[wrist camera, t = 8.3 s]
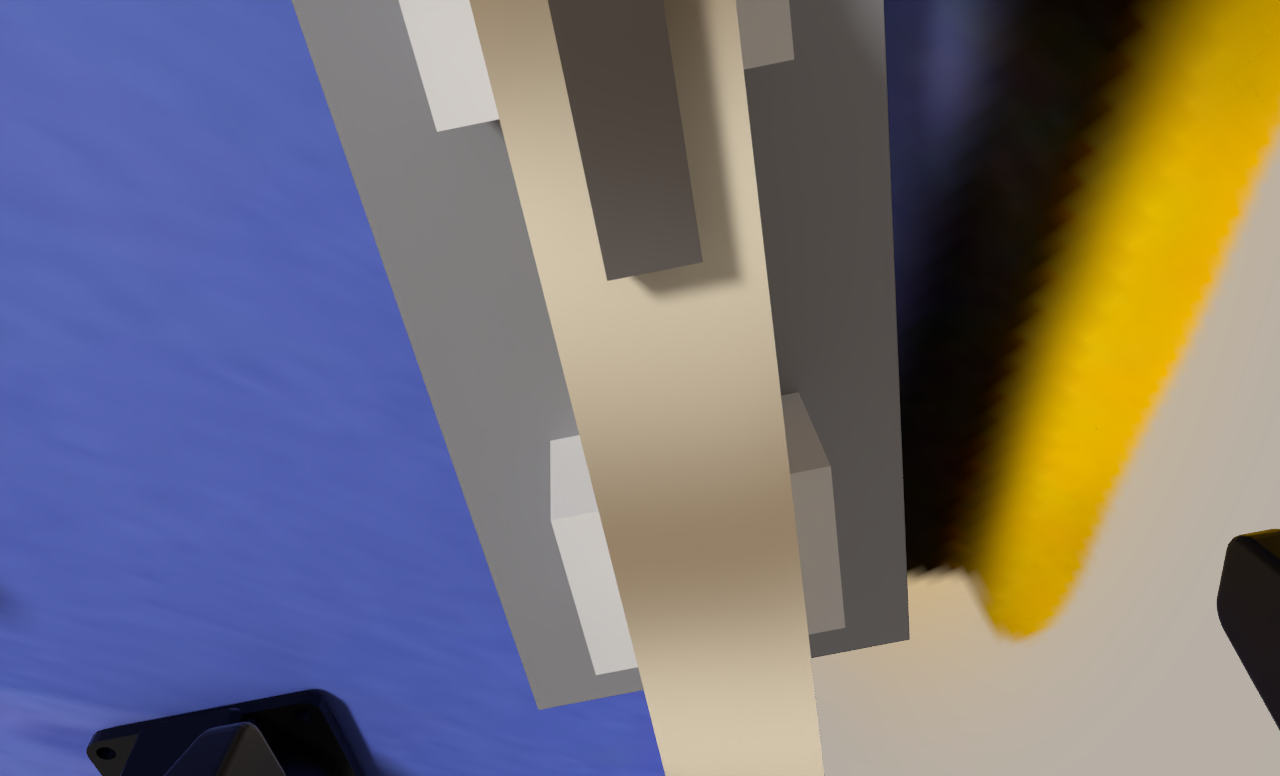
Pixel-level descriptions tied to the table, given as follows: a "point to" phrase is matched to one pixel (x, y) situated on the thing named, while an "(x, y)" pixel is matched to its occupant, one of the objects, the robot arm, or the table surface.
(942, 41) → the table surface
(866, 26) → the hinge plinth
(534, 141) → the birch door
